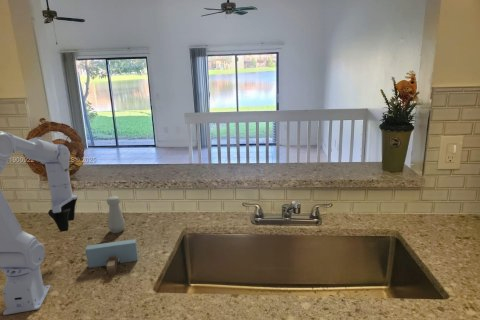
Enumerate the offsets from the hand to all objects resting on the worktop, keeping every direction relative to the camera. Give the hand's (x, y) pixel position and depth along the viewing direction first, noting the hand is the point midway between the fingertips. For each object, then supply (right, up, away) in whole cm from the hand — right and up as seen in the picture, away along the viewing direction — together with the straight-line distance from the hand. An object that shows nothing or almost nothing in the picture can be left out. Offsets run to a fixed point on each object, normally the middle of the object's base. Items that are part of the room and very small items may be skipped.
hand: (67, 225), depth 104 cm
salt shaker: (+9, -6, +18) cm, 21 cm away
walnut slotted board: (+15, -11, -2) cm, 19 cm away
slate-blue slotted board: (+15, -11, -2) cm, 19 cm away
